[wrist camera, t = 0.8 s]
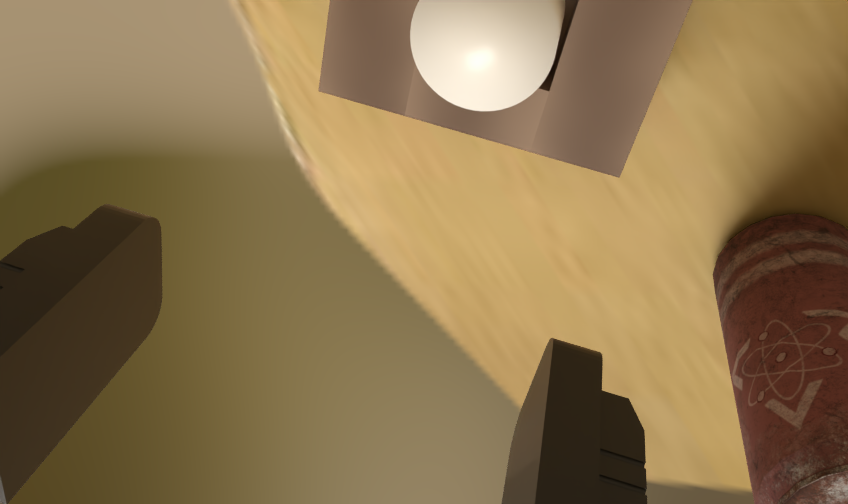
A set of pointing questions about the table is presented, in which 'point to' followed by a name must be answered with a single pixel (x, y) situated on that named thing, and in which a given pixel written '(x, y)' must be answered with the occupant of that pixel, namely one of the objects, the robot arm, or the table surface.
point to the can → (789, 354)
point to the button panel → (543, 110)
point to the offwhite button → (485, 48)
